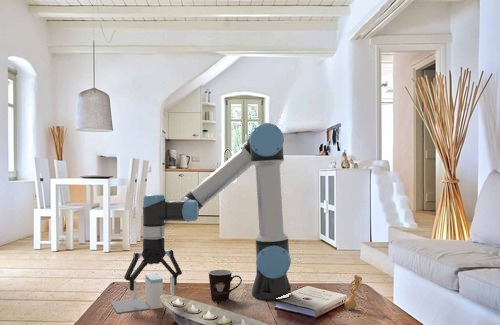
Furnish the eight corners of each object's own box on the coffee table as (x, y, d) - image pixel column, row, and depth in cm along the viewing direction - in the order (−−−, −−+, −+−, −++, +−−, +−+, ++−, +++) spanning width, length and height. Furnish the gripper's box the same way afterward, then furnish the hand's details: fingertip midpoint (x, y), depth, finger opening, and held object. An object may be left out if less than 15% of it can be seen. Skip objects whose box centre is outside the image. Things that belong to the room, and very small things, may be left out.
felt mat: (141, 299, 173) (141, 298, 173) (149, 309, 161) (149, 308, 161) (110, 303, 168) (110, 302, 168) (117, 313, 156) (117, 312, 156)
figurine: (341, 306, 165) (341, 272, 165) (357, 305, 166) (357, 271, 166) (348, 313, 157) (348, 277, 157) (366, 313, 157) (366, 277, 157)
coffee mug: (204, 301, 171) (204, 273, 171) (214, 295, 179) (214, 268, 179) (233, 304, 166) (233, 276, 166) (242, 298, 174) (242, 271, 174)
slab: (156, 300, 171) (156, 273, 171) (162, 307, 163) (162, 279, 163) (145, 302, 169) (145, 274, 169) (151, 309, 161) (151, 280, 161)
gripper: (184, 233, 175) (183, 290, 175) (116, 238, 164) (115, 298, 164) (190, 236, 168) (190, 295, 168) (120, 241, 157) (119, 304, 157)
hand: (153, 297), depth 166 cm, fingers open, 13 cm apart
